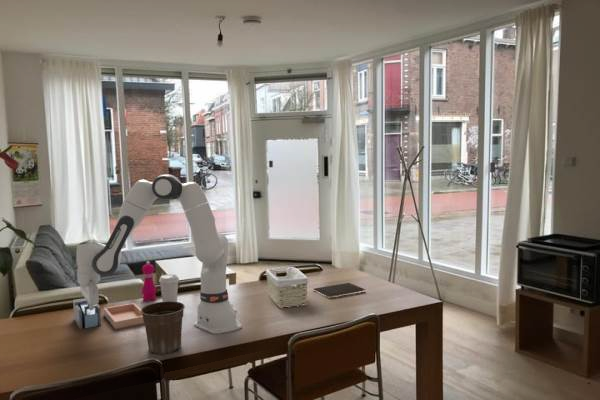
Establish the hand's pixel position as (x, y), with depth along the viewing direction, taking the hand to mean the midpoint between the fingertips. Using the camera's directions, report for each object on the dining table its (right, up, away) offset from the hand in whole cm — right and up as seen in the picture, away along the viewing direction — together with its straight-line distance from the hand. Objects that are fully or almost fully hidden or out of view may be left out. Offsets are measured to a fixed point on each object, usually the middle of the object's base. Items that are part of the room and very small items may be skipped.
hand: (90, 309), depth 209 cm
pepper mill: (+13, -4, +41) cm, 43 cm away
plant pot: (+38, -10, -22) cm, 45 cm away
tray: (+11, -7, +11) cm, 17 cm away
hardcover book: (+112, -3, +51) cm, 123 cm away
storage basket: (+84, -4, +36) cm, 91 cm away
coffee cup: (+26, -5, +29) cm, 40 cm away
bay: (-5, -8, +7) cm, 12 cm away
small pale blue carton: (-3, -7, +6) cm, 10 cm away
